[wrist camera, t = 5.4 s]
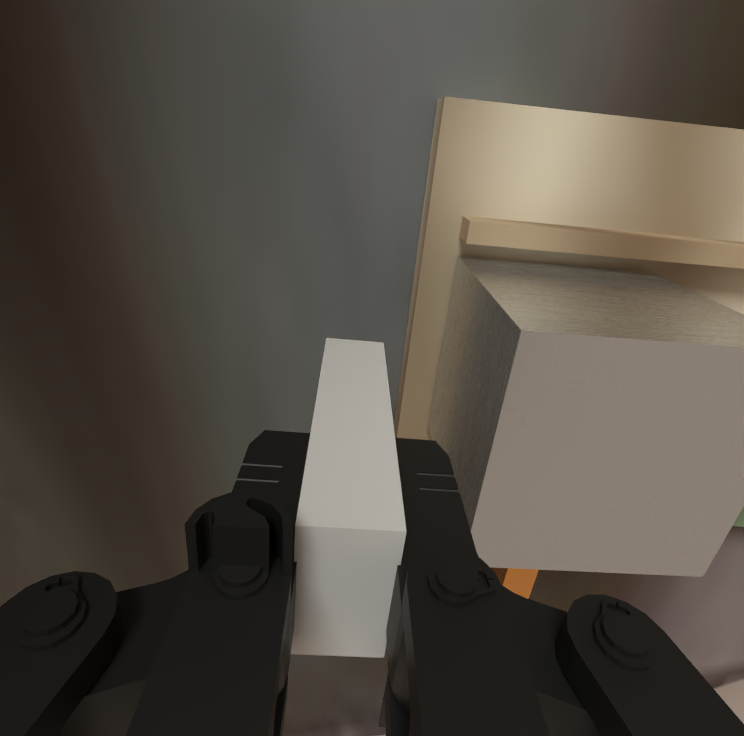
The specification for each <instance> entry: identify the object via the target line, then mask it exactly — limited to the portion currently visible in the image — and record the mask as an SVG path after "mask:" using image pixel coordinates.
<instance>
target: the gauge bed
mask: <svg viewBox="0 0 744 736" xmlns="http://www.w3.org/2000/svg"><path fill="white" fill-rule="evenodd" d="M457 255H459V256H471V257H482V258H493V259H505V260H516V261H527V262H539V263H550V264H561V265H572V266H584V267H595V268H606V269H618V270H629V271H640V272H651V273H654V274H656V275H658V276H660V277H662V278H665V279H667V280H669V281H671V282H673V283H676V284H678V285H680V286H682V287H684V288H687V289H689V290H691V291H693V292H695V293H698V294H700V295H702V296H704V297H706V298H708V299H711V300H713V301H715V302H717V303H719V304H722V305H724V306H726V307H728V308H730V309H733V310H735V311H737V312H739V313H741V314H744V130H741V129H732V128H723V127H714V126H705V125H696V124H687V123H678V122H669V121H660V120H651V119H642V118H633V117H624V116H615V115H606V114H597V113H588V112H579V111H570V110H561V109H552V108H543V107H534V106H525V105H516V104H507V103H498V102H489V101H480V100H471V99H462V98H453V97H443V98H441V99H439V100H438V101H437V108H436V116H435V123H434V131H433V138H432V145H431V153H430V160H429V168H428V175H427V183H426V190H425V197H424V205H423V212H422V220H421V227H420V234H419V242H418V249H417V257H416V264H415V272H414V279H413V286H412V294H411V301H410V309H409V316H408V324H407V331H406V338H405V346H404V353H403V361H402V368H401V375H400V383H399V390H398V398H397V405H396V413H395V420H394V433H395V438H407V439H421V440H431V437H430V432H429V428H428V422H429V416H430V410H431V405H432V399H433V393H434V387H435V381H436V376H437V370H438V364H439V358H440V353H441V347H442V341H443V335H444V329H445V324H446V318H447V312H448V306H449V301H450V295H451V289H452V283H453V277H454V272H455V266H456V260H457ZM733 526H739V527H744V507H743V508H742V510H741V512H740V514H739V515H738V517H737V519H736V520H735V522H734V524H733Z"/></svg>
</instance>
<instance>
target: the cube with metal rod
mask: <svg viewBox="0 0 744 736" xmlns="http://www.w3.org/2000/svg"><path fill="white" fill-rule="evenodd" d="M428 428H429V432H430V437H431V440H435V441H436V442H437V443H438V444H439V445H440V447H441V448H442V449H443V450H444V451H445V452H446V453H447V454H448V455H449V457H450V461H451V464H452V468H453V471H454V478H456V482H457V485H458V489H459V490H458V492H459V493H460V496H461V499H462V503H463V506H464V510H465V513H466V517H467V520H468V524H469V527H470V531H471V534H472V538H473V541H474V544H475V548H476V551H477V554H478V556H479V558H481V559H482V560H483V561H484V562H485V563H486V564H487V565H488V566H489V567H490V568H491V569H492V570H493V571H494V572H495V574H496V576H497V577H498V579H499V581H500V583H501V585H503V586H504V587H506V588H507V589H509V590H510V591H512V592H513V593H516V594H518V595H520V596H522V597H525V598H527V599H529V596H530V593H531V590H532V587H533V585H534V582H535V579H536V576H537V573H538V571H539V570H561V571H584V572H607V573H629V574H652V575H675V576H697V577H703V576H704V574H705V572H706V570H707V569H708V567H709V565H710V563H711V562H712V560H713V558H714V557H715V555H716V553H717V551H718V550H719V548H720V546H721V545H722V543H723V541H724V539H725V538H726V536H727V534H728V532H729V531H730V529H731V527H732V526H733V524H734V522H735V520H736V519H737V517H738V515H739V514H740V512H741V510H742V508H743V507H744V314H741V313H739V312H737V311H735V310H733V309H730V308H728V307H726V306H724V305H722V304H719V303H717V302H715V301H713V300H711V299H708V298H706V297H704V296H702V295H700V294H698V293H695V292H693V291H691V290H689V289H687V288H684V287H682V286H680V285H678V284H676V283H673V282H671V281H669V280H667V279H665V278H662V277H660V276H658V275H656V274H654V273H651V272H640V271H629V270H618V269H606V268H595V267H584V266H572V265H561V264H550V263H539V262H527V261H516V260H505V259H493V258H482V257H471V256H459V255H457V260H456V266H455V272H454V277H453V283H452V289H451V295H450V301H449V306H448V312H447V318H446V324H445V329H444V335H443V341H442V347H441V353H440V358H439V364H438V370H437V376H436V381H435V387H434V393H433V399H432V405H431V410H430V416H429V422H428Z"/></svg>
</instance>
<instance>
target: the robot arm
mask: <svg viewBox="0 0 744 736" xmlns="http://www.w3.org/2000/svg"><path fill="white" fill-rule="evenodd" d="M458 490H459V489H458V485H457V482H456V478H454V471H453V468H452V464H451V461H450V457H449V455H448V454H447V453H446V452H445V451H444V450H443V449H442V448H441V447H440V445H439V444H438V443H437V442H436V441H435V440H421V439H407V438H395V433H394V425H393V416H392V408H391V400H390V392H389V384H388V375H387V367H386V359H385V351H384V343H382V342H370V341H358V340H346V339H334V338H326V343H325V349H324V355H323V361H322V367H321V373H320V379H319V385H318V391H317V397H316V403H315V409H314V415H313V421H312V427H311V433H298V432H283V431H269V430H265V431H263V432H262V433H261V434H260V435H259V436H258V437H257V438H256V439H255V440H254V441H252V442H251V443H250V444H249V446H248V449H247V452H246V455H245V457H244V460H243V465H242V466H241V468H240V471H239V474H238V477H237V481H236V482H235V485H234V488H233V491H232V493H228V494H225V495H222V496H219V497H216V498H213V499H211V500H209V501H208V502H206V503H205V504H203V505H202V506H201V507H199V508H198V509H196V510H195V511H194V513H193V514H192V515H191V517H190V518H189V519H188V521H187V522H186V523H185V532H186V542H187V552H188V562H189V570H187V571H185V572H183V573H181V574H179V575H177V576H176V577H174V578H171V579H168V580H165V581H162V582H158V583H155V584H151V585H146V586H142V587H137V588H133V589H128V590H124V591H119V592H115V590H114V588H113V586H112V584H111V582H110V581H109V580H107V579H105V578H103V577H101V576H100V575H98V574H96V573H89V572H77V571H74V572H69V573H64V574H59V575H54V576H50V577H48V578H46V579H43V580H41V581H39V582H37V583H35V584H33V585H30V586H28V587H26V588H25V589H23V590H22V591H21V592H19V593H18V594H17V595H15V596H14V597H12V598H11V599H10V600H8V601H7V602H6V603H4V604H3V605H2V606H1V607H0V736H282V731H283V723H284V715H285V707H286V700H287V685H288V669H289V662H290V654H299V655H325V656H351V657H377V658H384V655H385V649H386V643H387V656H388V677H387V682H386V688H385V693H384V698H383V703H382V709H381V715H380V722H379V727H386V736H744V724H743V723H742V722H741V721H740V719H739V718H738V717H737V716H736V715H735V714H734V713H733V711H732V710H731V709H730V708H729V707H728V705H727V704H726V703H725V702H724V701H723V700H722V699H721V697H720V696H719V695H718V694H717V693H716V691H715V690H714V689H713V688H712V687H711V686H710V684H709V683H708V682H707V681H706V680H705V679H704V677H703V676H702V675H701V674H700V673H699V672H698V670H697V669H696V668H695V667H694V666H693V665H692V663H691V662H690V661H689V660H688V659H687V658H686V656H685V655H684V654H683V653H682V652H681V651H680V649H679V648H678V647H677V646H676V645H675V644H674V642H673V641H672V640H671V639H670V638H669V637H668V635H667V634H666V633H665V632H664V631H663V630H662V629H661V628H660V627H659V626H658V625H657V624H656V623H655V622H654V621H653V620H652V619H650V618H649V617H648V616H647V615H646V614H645V613H643V612H642V611H640V610H638V609H637V608H635V607H633V606H632V605H630V604H628V603H627V602H625V601H622V600H619V599H616V598H613V597H610V596H607V595H585V596H583V597H581V598H579V599H577V600H575V601H573V603H572V605H571V607H570V608H569V610H568V612H565V611H562V610H559V609H556V608H553V607H550V606H547V605H545V604H542V603H539V602H536V601H533V600H530V599H527V598H525V597H522V596H520V595H518V594H516V593H513V592H512V591H510V590H509V589H507V588H506V587H504V586H503V585H501V583H500V581H499V579H498V577H497V576H496V574H495V572H494V571H493V570H492V569H491V568H490V567H489V566H488V565H487V564H486V563H485V562H484V561H483V560H482V559H481V558H479V556H478V554H477V551H476V548H475V544H474V541H473V538H472V534H471V531H470V527H469V524H468V520H467V517H466V513H465V510H464V506H463V503H462V499H461V496H460V493H459V492H458Z"/></svg>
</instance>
